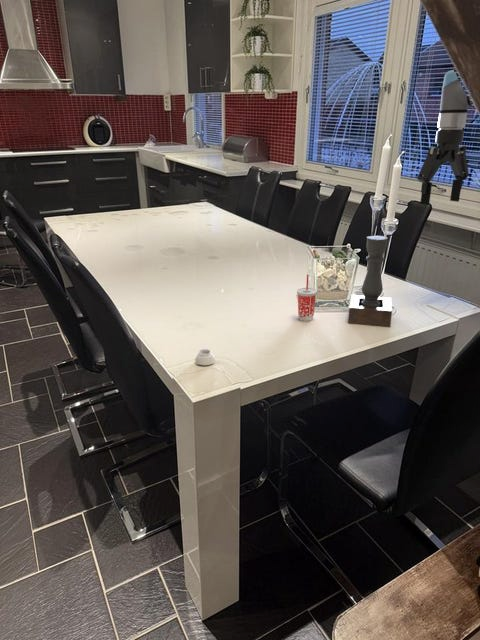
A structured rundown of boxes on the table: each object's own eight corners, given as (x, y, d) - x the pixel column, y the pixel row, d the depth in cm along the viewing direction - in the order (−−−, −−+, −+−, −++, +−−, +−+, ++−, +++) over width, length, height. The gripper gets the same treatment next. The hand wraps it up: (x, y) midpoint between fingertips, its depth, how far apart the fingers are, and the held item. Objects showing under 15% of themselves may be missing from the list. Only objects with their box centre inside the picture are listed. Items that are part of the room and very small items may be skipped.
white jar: (202, 356, 121) (191, 363, 117) (202, 345, 120) (190, 353, 116) (219, 360, 118) (207, 368, 115) (218, 349, 117) (207, 357, 113)
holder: (389, 312, 148) (391, 297, 146) (390, 327, 137) (392, 311, 135) (350, 309, 151) (351, 294, 149) (347, 323, 140) (349, 307, 139)
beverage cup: (310, 313, 148) (313, 271, 143) (318, 320, 143) (321, 276, 137) (292, 315, 147) (294, 272, 141) (300, 322, 141) (302, 278, 136)
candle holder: (375, 322, 140) (384, 240, 131) (356, 318, 144) (363, 238, 134) (382, 316, 145) (391, 236, 136) (362, 312, 148) (370, 234, 139)
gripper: (467, 129, 146) (456, 198, 154) (410, 129, 135) (401, 204, 143) (489, 128, 140) (476, 200, 148) (431, 129, 129) (421, 207, 137)
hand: (439, 202), depth 145 cm, fingers open, 13 cm apart
